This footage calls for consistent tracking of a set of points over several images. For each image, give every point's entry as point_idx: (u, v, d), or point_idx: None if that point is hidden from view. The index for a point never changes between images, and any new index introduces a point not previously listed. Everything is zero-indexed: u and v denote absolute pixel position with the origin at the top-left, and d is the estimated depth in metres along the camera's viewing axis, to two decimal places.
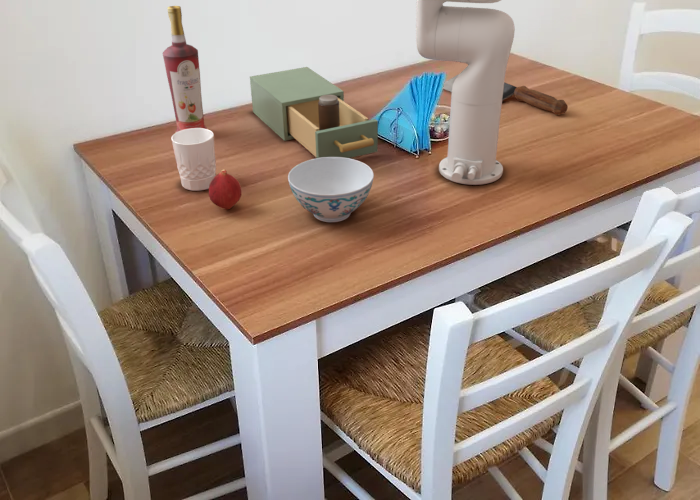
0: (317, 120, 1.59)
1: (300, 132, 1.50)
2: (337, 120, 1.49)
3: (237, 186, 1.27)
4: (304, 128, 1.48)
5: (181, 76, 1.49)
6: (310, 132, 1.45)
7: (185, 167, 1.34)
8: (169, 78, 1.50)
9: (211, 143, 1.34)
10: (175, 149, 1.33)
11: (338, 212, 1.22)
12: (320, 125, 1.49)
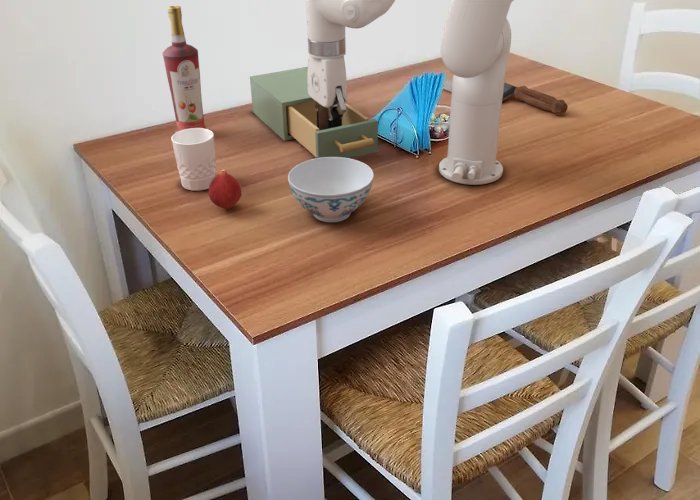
0: None
1: (300, 132, 1.50)
2: None
3: (237, 186, 1.27)
4: (304, 128, 1.48)
5: (181, 76, 1.49)
6: (310, 132, 1.45)
7: (185, 167, 1.34)
8: (169, 78, 1.50)
9: (211, 143, 1.34)
10: (175, 149, 1.33)
11: (338, 212, 1.22)
12: (320, 125, 1.49)
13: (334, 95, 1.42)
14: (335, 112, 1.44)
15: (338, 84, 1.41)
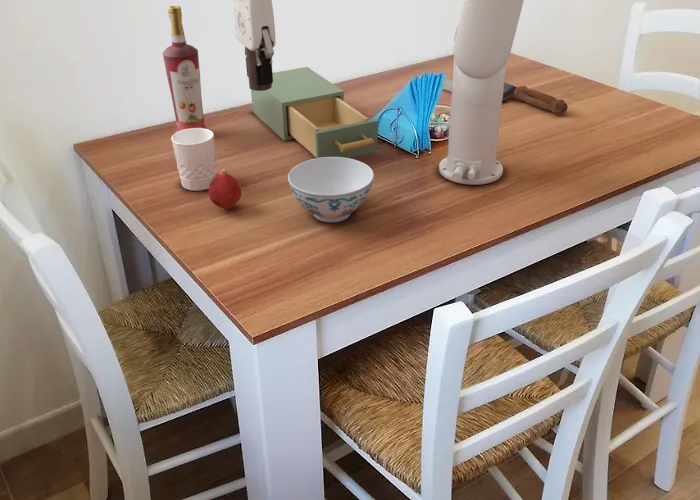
0: (317, 120, 1.59)
1: (300, 132, 1.50)
2: None
3: (237, 186, 1.27)
4: (304, 128, 1.48)
5: (181, 76, 1.49)
6: (310, 132, 1.45)
7: (185, 167, 1.34)
8: (169, 78, 1.50)
9: (211, 143, 1.34)
10: (175, 149, 1.33)
11: (338, 212, 1.22)
12: (249, 72, 1.37)
13: (260, 36, 1.30)
14: (262, 56, 1.32)
15: (264, 24, 1.29)
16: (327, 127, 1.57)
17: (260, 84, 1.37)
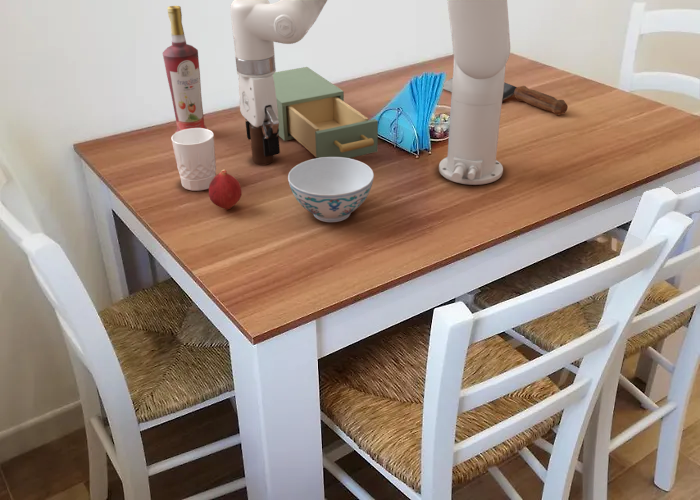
0: (317, 120, 1.59)
1: (300, 132, 1.50)
2: None
3: (237, 186, 1.27)
4: (304, 128, 1.48)
5: (181, 76, 1.49)
6: (310, 132, 1.45)
7: (185, 167, 1.34)
8: (169, 78, 1.50)
9: (211, 143, 1.34)
10: (175, 149, 1.33)
11: (338, 212, 1.22)
12: (252, 147, 1.45)
13: (264, 115, 1.37)
14: (270, 130, 1.37)
15: (267, 103, 1.37)
16: (327, 127, 1.57)
17: (267, 155, 1.42)
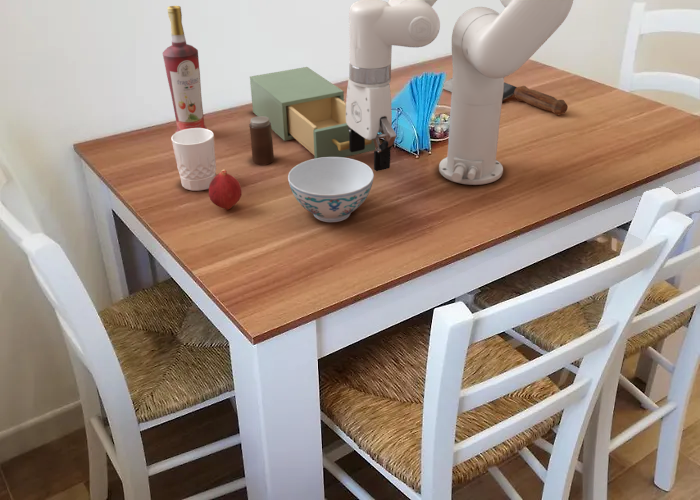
0: (315, 118, 1.60)
1: (298, 131, 1.51)
2: (269, 142, 1.45)
3: (237, 186, 1.27)
4: (302, 127, 1.48)
5: (181, 76, 1.49)
6: (308, 131, 1.46)
7: (185, 167, 1.34)
8: (169, 78, 1.50)
9: (211, 143, 1.34)
10: (175, 149, 1.33)
11: (338, 212, 1.22)
12: (252, 147, 1.45)
13: (378, 127, 1.28)
14: (385, 143, 1.28)
15: (383, 115, 1.27)
16: (325, 126, 1.58)
17: (377, 169, 1.33)
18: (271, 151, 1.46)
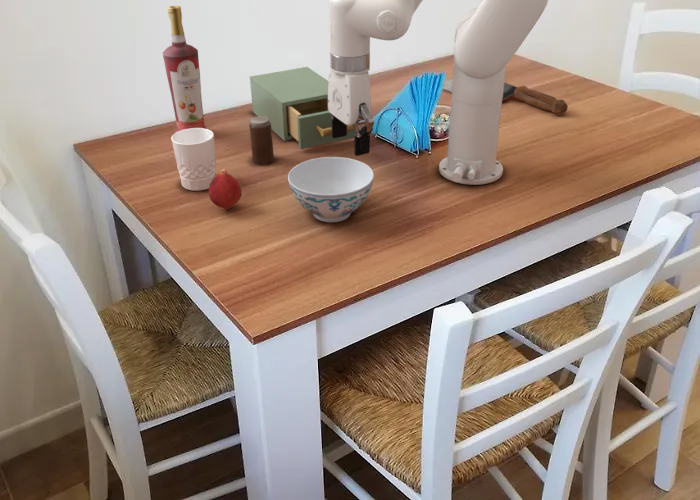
0: (300, 107, 1.66)
1: None
2: (269, 142, 1.45)
3: (237, 186, 1.27)
4: (287, 114, 1.54)
5: (181, 76, 1.49)
6: (292, 118, 1.52)
7: (185, 167, 1.34)
8: (169, 78, 1.50)
9: (211, 143, 1.34)
10: (175, 149, 1.33)
11: (338, 212, 1.22)
12: (252, 147, 1.45)
13: (357, 113, 1.34)
14: (364, 129, 1.34)
15: (362, 101, 1.33)
16: (310, 114, 1.64)
17: (358, 154, 1.39)
18: (271, 151, 1.46)
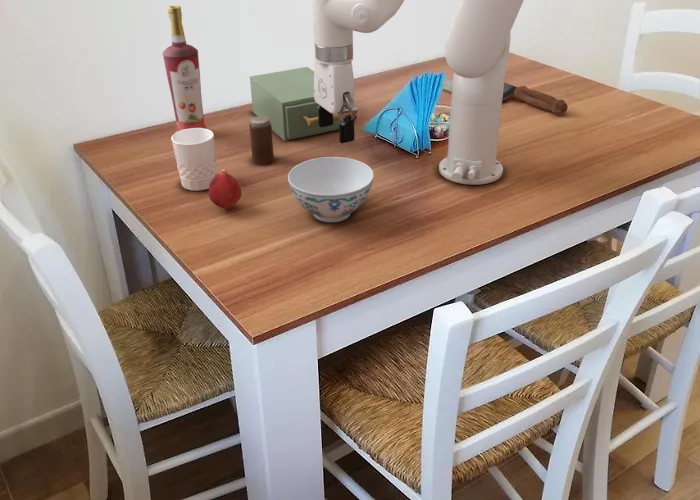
0: None
1: None
2: (269, 142, 1.45)
3: (237, 186, 1.27)
4: None
5: (181, 76, 1.49)
6: None
7: (185, 167, 1.34)
8: (169, 78, 1.50)
9: (211, 143, 1.34)
10: (175, 149, 1.33)
11: (338, 212, 1.22)
12: (252, 147, 1.45)
13: (342, 101, 1.39)
14: (348, 117, 1.39)
15: (346, 90, 1.39)
16: None
17: (343, 142, 1.44)
18: (271, 151, 1.46)
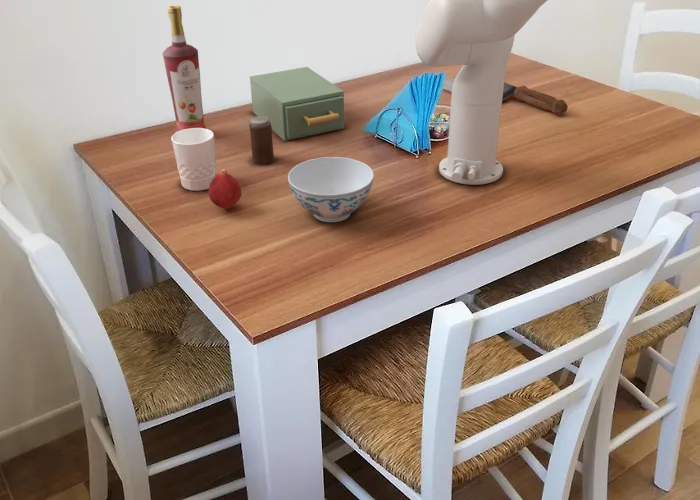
0: None
1: None
2: (269, 142, 1.45)
3: (237, 186, 1.27)
4: None
5: (181, 76, 1.49)
6: None
7: (185, 167, 1.34)
8: (169, 78, 1.50)
9: (211, 143, 1.34)
10: (175, 149, 1.33)
11: (338, 212, 1.22)
12: (252, 147, 1.45)
13: None
14: None
15: None
16: None
17: None
18: (271, 151, 1.46)
